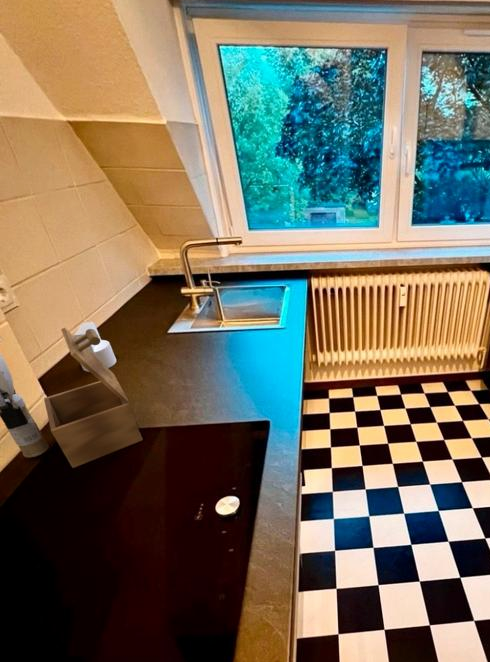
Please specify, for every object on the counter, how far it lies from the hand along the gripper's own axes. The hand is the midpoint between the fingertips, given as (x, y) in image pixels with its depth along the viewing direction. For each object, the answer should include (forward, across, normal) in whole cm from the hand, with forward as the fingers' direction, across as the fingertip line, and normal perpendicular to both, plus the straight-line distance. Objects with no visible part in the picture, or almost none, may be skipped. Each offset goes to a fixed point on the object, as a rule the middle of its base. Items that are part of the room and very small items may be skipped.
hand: (17, 418), depth 78 cm
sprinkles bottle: (+9, 0, 0) cm, 9 cm away
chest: (+10, +2, +12) cm, 16 cm away
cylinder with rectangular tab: (+11, -38, +18) cm, 43 cm away
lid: (-8, +2, +15) cm, 17 cm away
